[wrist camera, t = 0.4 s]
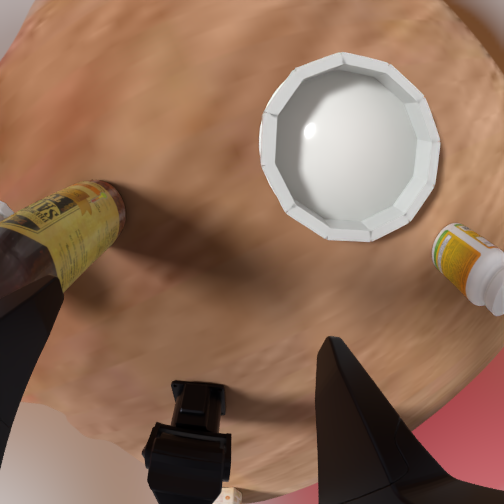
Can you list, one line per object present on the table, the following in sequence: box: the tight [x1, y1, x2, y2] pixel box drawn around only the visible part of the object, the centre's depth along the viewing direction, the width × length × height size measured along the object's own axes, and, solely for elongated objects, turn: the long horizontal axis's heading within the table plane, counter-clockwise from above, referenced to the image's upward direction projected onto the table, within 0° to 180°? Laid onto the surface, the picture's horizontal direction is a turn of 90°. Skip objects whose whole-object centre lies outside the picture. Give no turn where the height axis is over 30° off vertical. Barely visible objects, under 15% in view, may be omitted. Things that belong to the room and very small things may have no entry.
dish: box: [259, 52, 440, 242], centre depth 19 cm, size 14×14×3 cm
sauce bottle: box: [0, 180, 126, 298], centre depth 13 cm, size 7×6×20 cm
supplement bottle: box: [432, 223, 504, 316], centre depth 19 cm, size 5×5×10 cm
